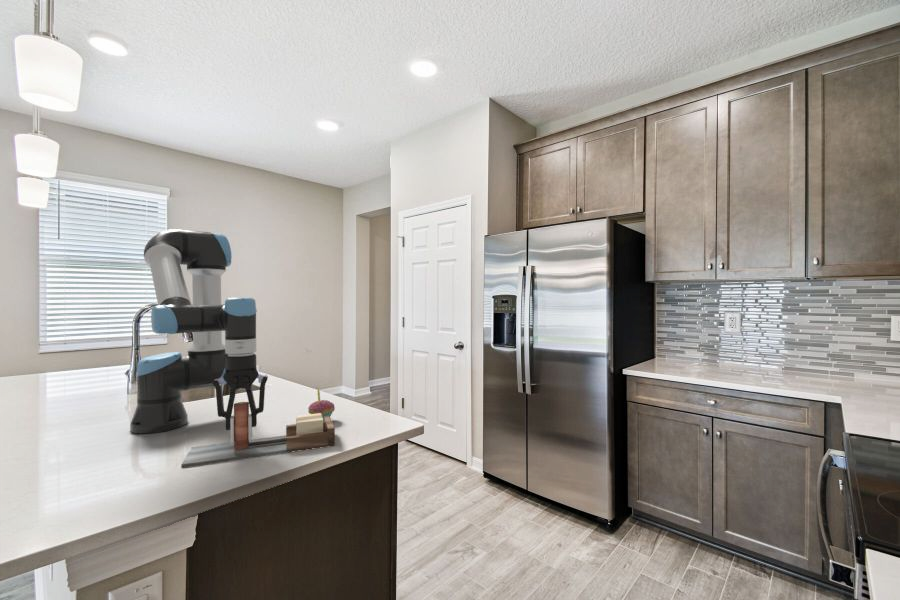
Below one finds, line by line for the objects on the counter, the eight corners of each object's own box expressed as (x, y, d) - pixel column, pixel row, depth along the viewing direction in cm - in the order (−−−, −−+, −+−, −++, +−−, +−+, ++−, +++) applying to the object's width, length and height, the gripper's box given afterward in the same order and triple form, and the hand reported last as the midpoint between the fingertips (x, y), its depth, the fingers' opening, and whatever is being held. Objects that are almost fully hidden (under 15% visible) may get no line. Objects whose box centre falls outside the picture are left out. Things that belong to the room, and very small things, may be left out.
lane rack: (192, 450, 109) (191, 431, 109) (330, 432, 123) (330, 416, 123) (181, 467, 98) (181, 447, 98) (334, 445, 112) (334, 428, 112)
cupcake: (326, 426, 129) (326, 389, 129) (302, 425, 130) (302, 388, 130) (339, 418, 137) (339, 384, 137) (316, 417, 139) (316, 383, 139)
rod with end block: (235, 443, 111) (235, 401, 111) (321, 432, 120) (320, 393, 120) (232, 453, 105) (232, 407, 105) (323, 440, 114) (323, 398, 113)
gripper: (202, 358, 102) (203, 449, 102) (274, 354, 108) (274, 440, 108) (208, 354, 109) (208, 439, 109) (274, 350, 115) (275, 431, 115)
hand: (241, 439), depth 109 cm, fingers closed on rod with end block, 4 cm apart
